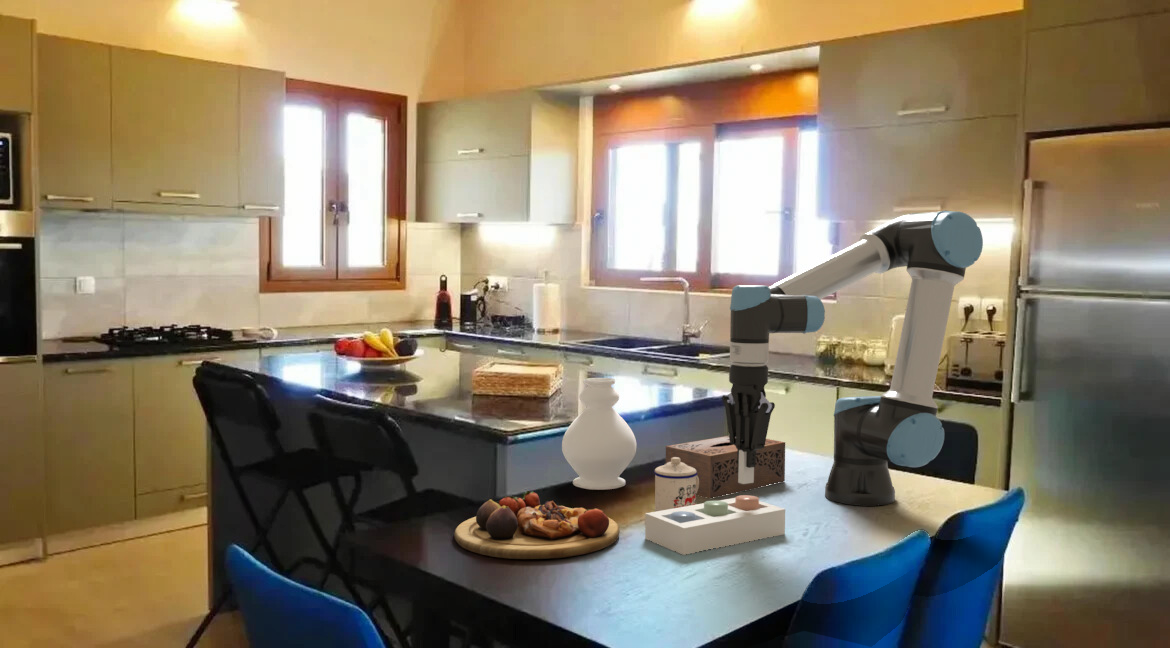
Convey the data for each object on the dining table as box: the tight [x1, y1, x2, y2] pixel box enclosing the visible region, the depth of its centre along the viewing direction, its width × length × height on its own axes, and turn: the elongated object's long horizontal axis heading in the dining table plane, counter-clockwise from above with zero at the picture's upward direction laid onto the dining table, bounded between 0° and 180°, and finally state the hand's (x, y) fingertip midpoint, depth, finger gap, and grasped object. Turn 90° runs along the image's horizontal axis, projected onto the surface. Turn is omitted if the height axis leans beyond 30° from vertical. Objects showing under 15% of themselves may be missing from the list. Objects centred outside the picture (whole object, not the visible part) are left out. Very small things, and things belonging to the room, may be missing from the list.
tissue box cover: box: [665, 435, 786, 499], centre depth 230 cm, size 26×14×10 cm, turn 129°
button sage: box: [703, 500, 728, 517], centre depth 187 cm, size 5×5×4 cm
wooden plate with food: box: [454, 490, 621, 560], centre depth 188 cm, size 32×32×8 cm
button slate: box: [671, 511, 695, 523], centre depth 183 cm, size 5×5×4 cm
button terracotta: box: [734, 494, 760, 511], centre depth 192 cm, size 5×5×4 cm
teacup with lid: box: [653, 457, 699, 512], centre depth 207 cm, size 12×9×12 cm
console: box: [644, 497, 786, 556], centre depth 188 cm, size 25×12×5 cm, turn 122°
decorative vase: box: [561, 377, 637, 491], centre depth 231 cm, size 18×18×25 cm
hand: (745, 482), depth 191 cm, fingers closed
